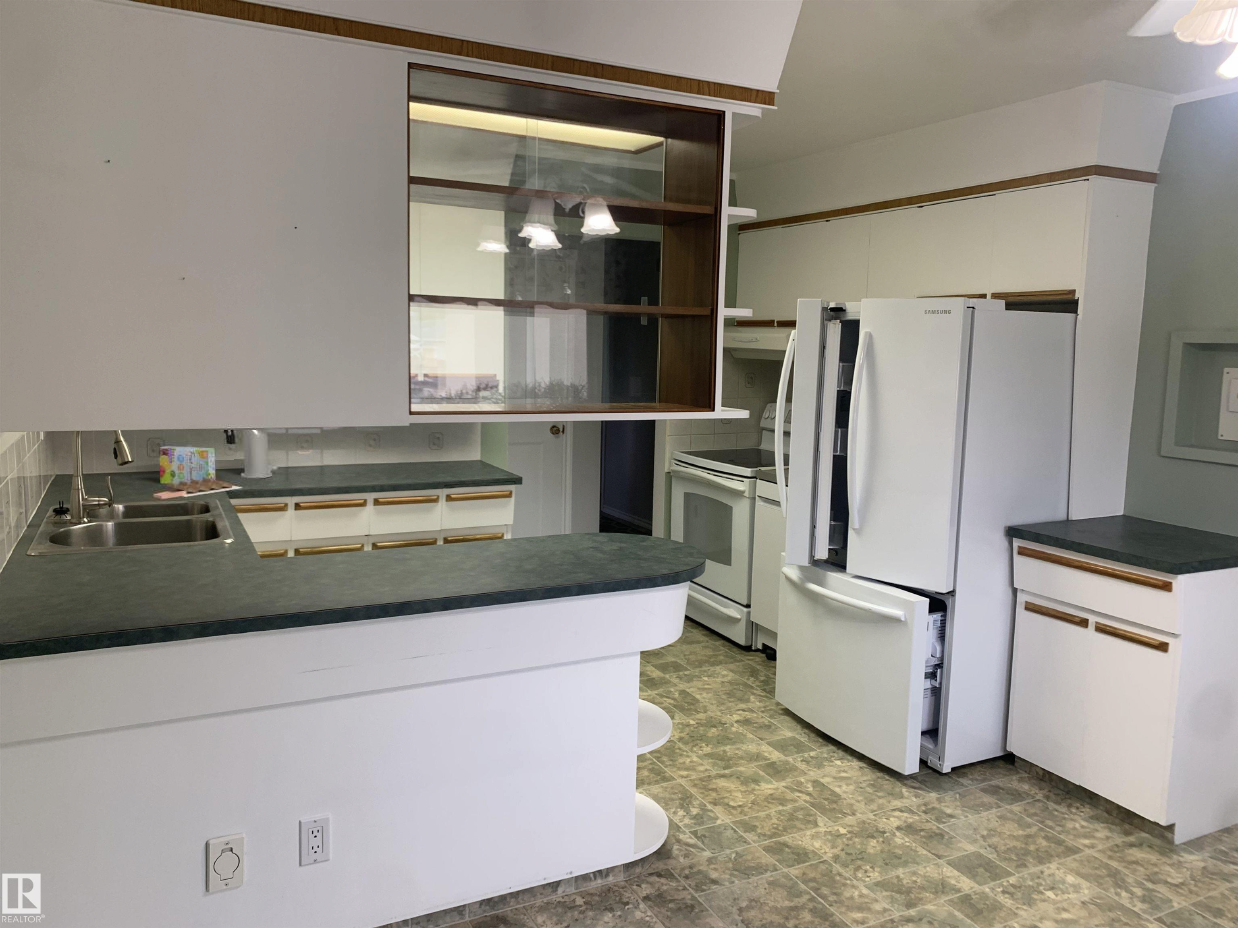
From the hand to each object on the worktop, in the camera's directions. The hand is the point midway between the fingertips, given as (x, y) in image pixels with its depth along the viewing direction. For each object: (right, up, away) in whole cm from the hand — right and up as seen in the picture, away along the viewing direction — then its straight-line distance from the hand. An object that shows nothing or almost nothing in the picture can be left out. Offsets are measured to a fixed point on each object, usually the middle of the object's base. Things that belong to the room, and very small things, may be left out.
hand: (230, 443), depth 361 cm
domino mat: (-3, -19, -14) cm, 24 cm away
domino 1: (-9, -19, -23) cm, 31 cm away
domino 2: (-6, -18, -19) cm, 27 cm away
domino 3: (-4, -18, -14) cm, 23 cm away
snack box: (-18, -17, +1) cm, 24 cm away
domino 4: (-1, -17, -10) cm, 20 cm away
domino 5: (+1, -17, -6) cm, 18 cm away
